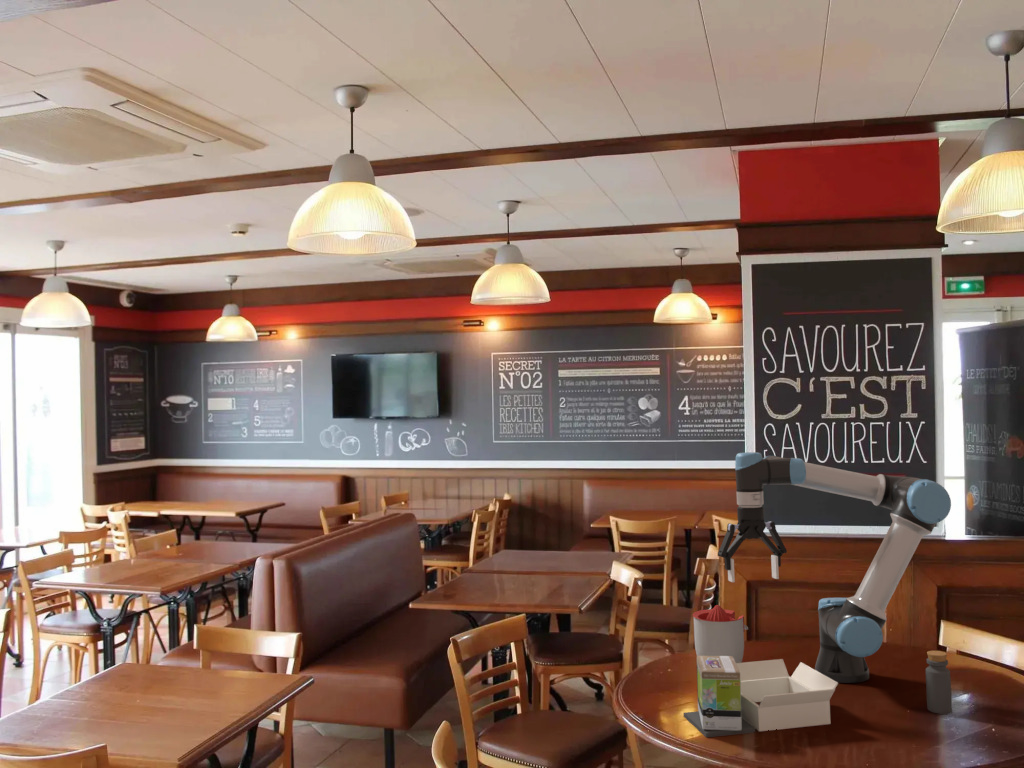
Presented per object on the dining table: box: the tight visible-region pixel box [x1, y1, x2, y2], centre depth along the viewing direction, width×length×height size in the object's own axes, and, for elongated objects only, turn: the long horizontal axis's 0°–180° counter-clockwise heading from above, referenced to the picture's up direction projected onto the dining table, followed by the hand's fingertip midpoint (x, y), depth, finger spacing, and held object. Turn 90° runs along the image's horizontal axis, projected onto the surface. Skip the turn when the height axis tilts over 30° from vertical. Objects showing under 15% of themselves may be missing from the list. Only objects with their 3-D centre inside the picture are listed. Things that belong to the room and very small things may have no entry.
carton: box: [736, 658, 839, 732], centre depth 225 cm, size 23×27×10 cm
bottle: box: [925, 650, 953, 715], centre depth 224 cm, size 6×6×15 cm
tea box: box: [696, 655, 742, 731], centre depth 219 cm, size 15×10×15 cm, turn 172°
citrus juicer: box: [692, 604, 749, 663], centre depth 265 cm, size 16×17×20 cm
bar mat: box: [683, 710, 756, 738], centre depth 219 cm, size 13×15×1 cm
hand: (753, 579), depth 244 cm, fingers open, 13 cm apart
